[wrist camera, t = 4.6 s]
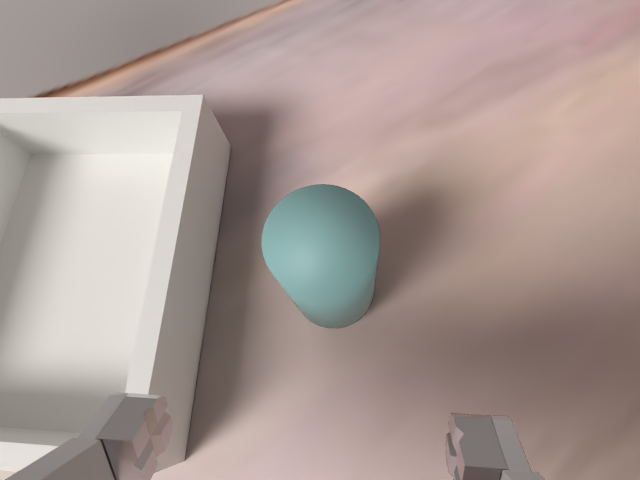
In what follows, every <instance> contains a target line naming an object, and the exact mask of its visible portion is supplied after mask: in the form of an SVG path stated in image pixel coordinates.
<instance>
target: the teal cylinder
mask: <svg viewBox="0 0 640 480" xmlns="http://www.w3.org/2000/svg"><path fill="white" fill-rule="evenodd" d="M379 244H380V232H379V227H378V223H377V220H376V217H375V215H374V213H373V212H372V210H371V209H370V207H369V206H368V205H367V203H366V202H365V201H364V200H363V199H361V198H360V197H359V196H358V195H356V194H355V193H353V192H351V191H349V190H347V189H345V188H342V187H339V186H334V185H326V184H319V185H311V186H306V187H303V188H300V189H298V190H295V191H293V192H292V193H290V194H288V195H287V196H285V197H284V198H283V199H282V200H280V201H279V202H278V203H277V204H276V206H275V207H274V208H273V209H272V211H271V212H270V214H269V215H268V217H267V219H266V222H265V224H264V227H263V231H262V239H261V245H262V253H263V257H264V260H265V262H266V265H267V267H268V268H269V270H270V272H271V273H272V274H273V276H274V277H275V278H276V280H277V281H278V282H279V283H280V285H281V286H282V287H283V289H284V290H285V291H286V292H287V294H288V295H289V296H290V298H291V299H292V300H293V302H294V303H295V304H296V305H297V307H298V308H299V309H300V311H301V312H302V313H303V314H304V316H305V317H306V318H307V319H309V320H310V321H311V322H313V323H315V324H317V325H319V326H322V327H326V328H341V327H345V326H348V325H351V324H353V323H354V322H356V321H358V320H359V319H360V318H361V317H362V316H363V315H364V314H365V313H366V311H367V310H368V309H369V307H370V305H371V302H372V299H373V295H374V287H375V278H376V270H377V262H378V253H379Z"/></svg>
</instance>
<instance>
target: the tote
mask: <svg viewBox="0 0 640 480" xmlns="http://www.w3.org/2000/svg"><path fill="white" fill-rule="evenodd" d="M230 152H231V145H230V144H229V142H228V140H227V138H226V136H225V134H224V132H223V131H222V129H221V127H220V125H219V123H218V121H217V119H216V118H215V116H214V114H213V112H212V110H211V108H210V106H209V105H208V103H207V101H206V99H205V97H204V95H163V96H110V97H57V98H6V99H0V470H6V471H17V472H18V471H20V470H21V469H23V468H25V467H26V466H28V465H29V464H31V463H33V462H34V461H36V460H38V459H39V458H41V457H42V456H44V455H46V454H47V453H49V452H50V451H52V450H54V449H55V448H57V447H58V446H60V445H62V444H63V443H65V442H66V441H68V440H70V439H71V438H78V436H79V435H80V434H81V432H82V431H83V430H84V428H85V427H86V426H87V424H88V423H89V422H90V420H91V419H92V418H93V416H94V415H95V414H96V412H97V411H98V410H99V408H100V407H101V406H102V404H103V403H104V402H105V400H106V399H107V398H108V396H109V395H111V394H112V393H114V392H122V393H136V394H147V395H159V396H164V397H166V401H167V404H168V406H167V408H166V409H165V412H167V413H168V414H169V415H170V416H171V420H172V433H171V437H170V441H169V444H168V446H167V448H166V450H165V451H164V452H163V453H161V454H160V455H159V456H157V457H156V458H157V463H158V466H157V468H156V470H155V472H158V471H160V470H163V469H165V468H168V467H170V466H173V465H175V464H178V463H181V462H183V461H185V455H186V448H187V442H188V435H189V428H190V422H191V415H192V408H193V401H194V395H195V388H196V381H197V374H198V368H199V361H200V354H201V347H202V341H203V334H204V327H205V320H206V314H207V307H208V300H209V294H210V287H211V280H212V273H213V267H214V260H215V253H216V246H217V240H218V233H219V226H220V219H221V213H222V206H223V199H224V193H225V186H226V179H227V172H228V166H229V159H230ZM155 472H154V473H155Z"/></svg>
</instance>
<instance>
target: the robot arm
mask: <svg viewBox="0 0 640 480" xmlns="http://www.w3.org/2000/svg"><path fill="white" fill-rule="evenodd" d="M167 406H168V404H167V401H166V397H164V396H159V395H147V394H136V393H122V392H114V393H112V394H111V395H109V396H108V398H107V399H106V400H105V402H104V403H103V404H102V406H101V407H100V408H99V410H98V411H97V412H96V414H95V415H94V416H93V418H92V419H91V420H90V422H89V423H88V424H87V426H86V427H85V428H84V430H83V431H82V432H81V434H80V435H79V436H78V438H71V439H70V440H68V441H66V442H65V443H63V444H62V445H60V446H58V447H57V448H55V449H54V450H52V451H50V452H49V453H47V454H46V455H44V456H42V457H41V458H39V459H38V460H36V461H34V462H33V463H31V464H29V465H28V466H26V467H25V468H23V469H21V470H20V471H18V472H17V473H15V474H13V475H12V476H10V477H9V478H7V479H5V480H151V478H152V476H153V474H154V472H155V470H156V468H157V466H158V463H157V458H156V457H157V456H159V455H160V454H161V453H163V452H164V451H165V450H166V448H167V446H168V444H169V441H170V437H171V433H172V420H171V416H170V415H169V414H168V413H167V412H165V409H166V408H167ZM448 424H449V429H450V432H449V433H448V434H447V436H446V461H447V467H448V472H449V474H450V475H451V476H452V477H453V480H545V479H544V478H543V477H542V476H541V475H540V474H539V473H538V472H532V471H531V469H530V466H529V463H528V461H527V458H526V456H525V453H524V451H523V448H522V446H521V443H520V440H519V438H518V435H517V433H516V430H515V428H514V425H513V423H512V420H511V419H510V418H509V416H496V415H489V416H488V415H480V414H460V413H451V414H450V416H449V422H448Z"/></svg>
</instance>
